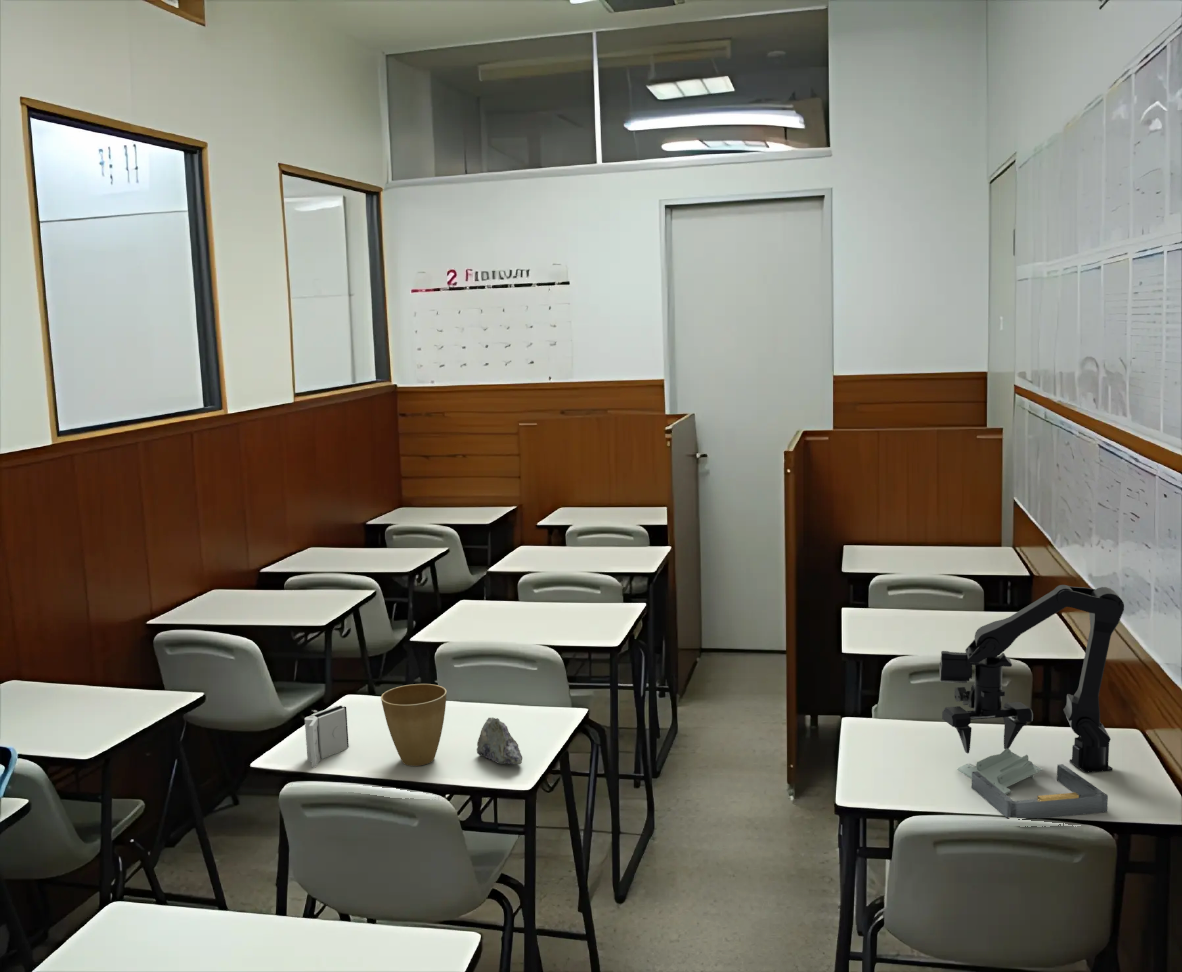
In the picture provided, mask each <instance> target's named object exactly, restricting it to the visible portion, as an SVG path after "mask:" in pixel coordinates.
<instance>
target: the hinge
mask: <svg viewBox="0 0 1182 972" xmlns="http://www.w3.org/2000/svg"><path fill="white" fill-rule="evenodd" d="M348 728H349V727H348V713H347V706H343V705H339V706H338V705H333V706H332V707H329V708H326V709H324V710H323V709H322V710H320V711H317V712H314V713H313V714H311V715H309V716H306V717H304V729H305V730H304V731H305V741H306V743H305V745H306V756H307V757H306V758H307V761H308V762H311V768H316V767H317V766H318V764H319V762H321V761H320V760H324V759H325V758H328V757H330V756H333V755H335V754H338V753H339V752H342V751H345V750H347V749H348V748H349V746H350V745H349V732H348Z"/></svg>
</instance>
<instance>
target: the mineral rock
mask: <svg viewBox="0 0 1182 972" xmlns="http://www.w3.org/2000/svg"><path fill="white" fill-rule="evenodd" d="M510 733H511V732H510V731H509V729H508V726H507V725H506V724H505V722H503V721H500V719H499V718H496V717H488V718H487V719H486V720H485V723H483V726H482V728H481V730H480V733H479V737H478V740H477V744H476V745H477V747H476V753H477V755H478V756H483V757H485V759H487V758H489V759H488V760H490V759H492V760H491V761H493V762H494V761H495V763H498V764H500V765H502V764H509V765H519V766H520V765H522V762H523V755H522V753H521V750H520V746H519V743H518V742H517V740H515V739H514V738H513V736H512V735H511V734H510Z"/></svg>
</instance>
